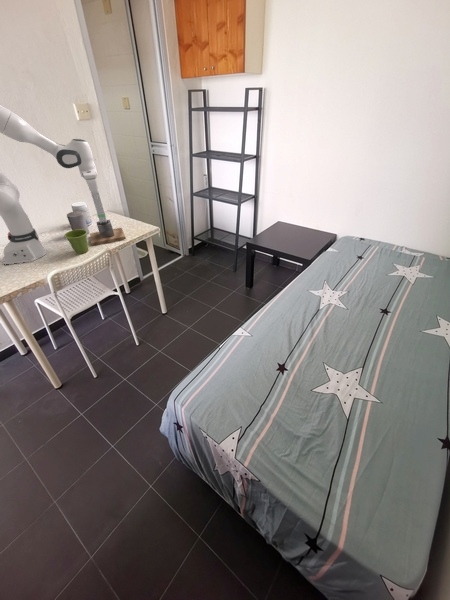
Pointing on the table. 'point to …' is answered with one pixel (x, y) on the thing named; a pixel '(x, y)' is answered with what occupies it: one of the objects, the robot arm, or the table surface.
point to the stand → (106, 234)
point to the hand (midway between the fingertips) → (96, 197)
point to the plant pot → (78, 240)
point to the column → (99, 209)
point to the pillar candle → (77, 221)
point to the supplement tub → (83, 208)
